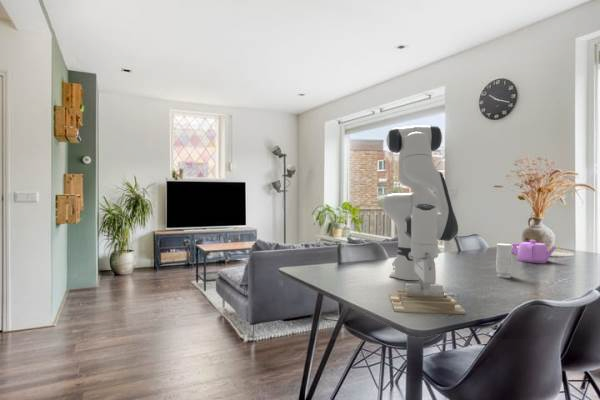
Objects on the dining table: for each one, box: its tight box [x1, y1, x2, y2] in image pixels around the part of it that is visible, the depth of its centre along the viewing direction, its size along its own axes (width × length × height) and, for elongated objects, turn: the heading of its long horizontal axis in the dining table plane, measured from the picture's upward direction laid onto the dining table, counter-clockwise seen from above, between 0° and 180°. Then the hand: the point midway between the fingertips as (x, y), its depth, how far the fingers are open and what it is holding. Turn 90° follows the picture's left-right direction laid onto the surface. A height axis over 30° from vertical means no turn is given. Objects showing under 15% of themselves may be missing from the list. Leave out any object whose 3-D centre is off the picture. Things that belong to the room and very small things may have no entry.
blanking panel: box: [405, 282, 444, 298], centre depth 130 cm, size 12×2×6 cm, turn 82°
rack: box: [388, 289, 466, 315], centre depth 130 cm, size 18×22×3 cm
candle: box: [495, 243, 514, 279], centre depth 177 cm, size 7×7×15 cm
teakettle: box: [512, 239, 557, 264], centre depth 220 cm, size 17×17×12 cm
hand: (424, 291), depth 130 cm, fingers open, 5 cm apart
